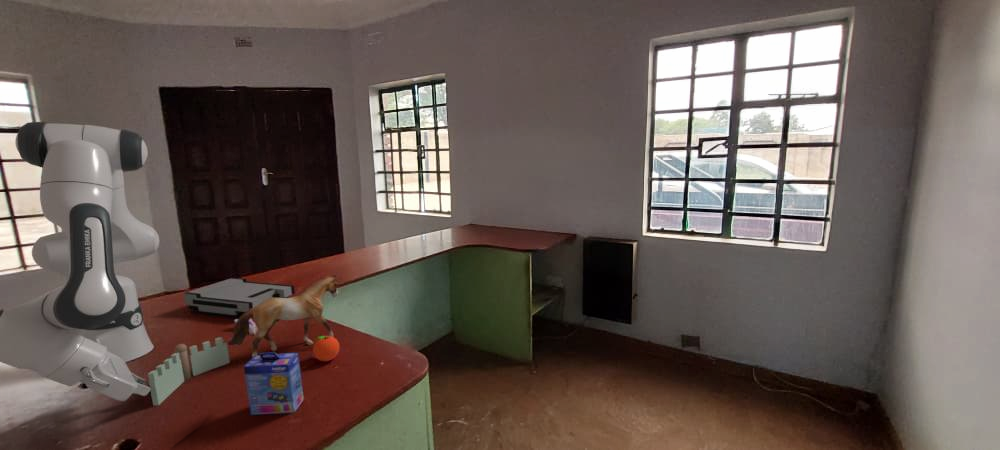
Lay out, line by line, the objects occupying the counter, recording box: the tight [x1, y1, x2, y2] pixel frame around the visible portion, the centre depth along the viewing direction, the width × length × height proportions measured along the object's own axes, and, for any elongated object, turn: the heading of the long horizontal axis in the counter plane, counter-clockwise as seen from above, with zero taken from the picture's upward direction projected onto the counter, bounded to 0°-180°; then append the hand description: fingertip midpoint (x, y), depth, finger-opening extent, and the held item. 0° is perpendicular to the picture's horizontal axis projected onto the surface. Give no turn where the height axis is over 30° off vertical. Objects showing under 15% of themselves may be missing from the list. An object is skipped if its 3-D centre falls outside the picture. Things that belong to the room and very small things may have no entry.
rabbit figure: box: [233, 317, 258, 336], centre depth 133 cm, size 6×6×15 cm
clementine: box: [312, 335, 341, 362], centre depth 113 cm, size 8×7×7 cm
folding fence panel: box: [147, 352, 185, 407], centre depth 96 cm, size 10×1×8 cm, turn 12°
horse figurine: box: [227, 274, 340, 358], centre depth 117 cm, size 31×8×21 cm, turn 123°
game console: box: [182, 277, 296, 319], centre depth 156 cm, size 21×32×8 cm, turn 73°
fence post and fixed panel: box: [173, 336, 230, 381], centre depth 106 cm, size 11×3×10 cm, turn 144°
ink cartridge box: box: [243, 351, 305, 416], centre depth 90 cm, size 10×6×14 cm, turn 95°
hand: (145, 388), depth 92 cm, fingers open, 3 cm apart
